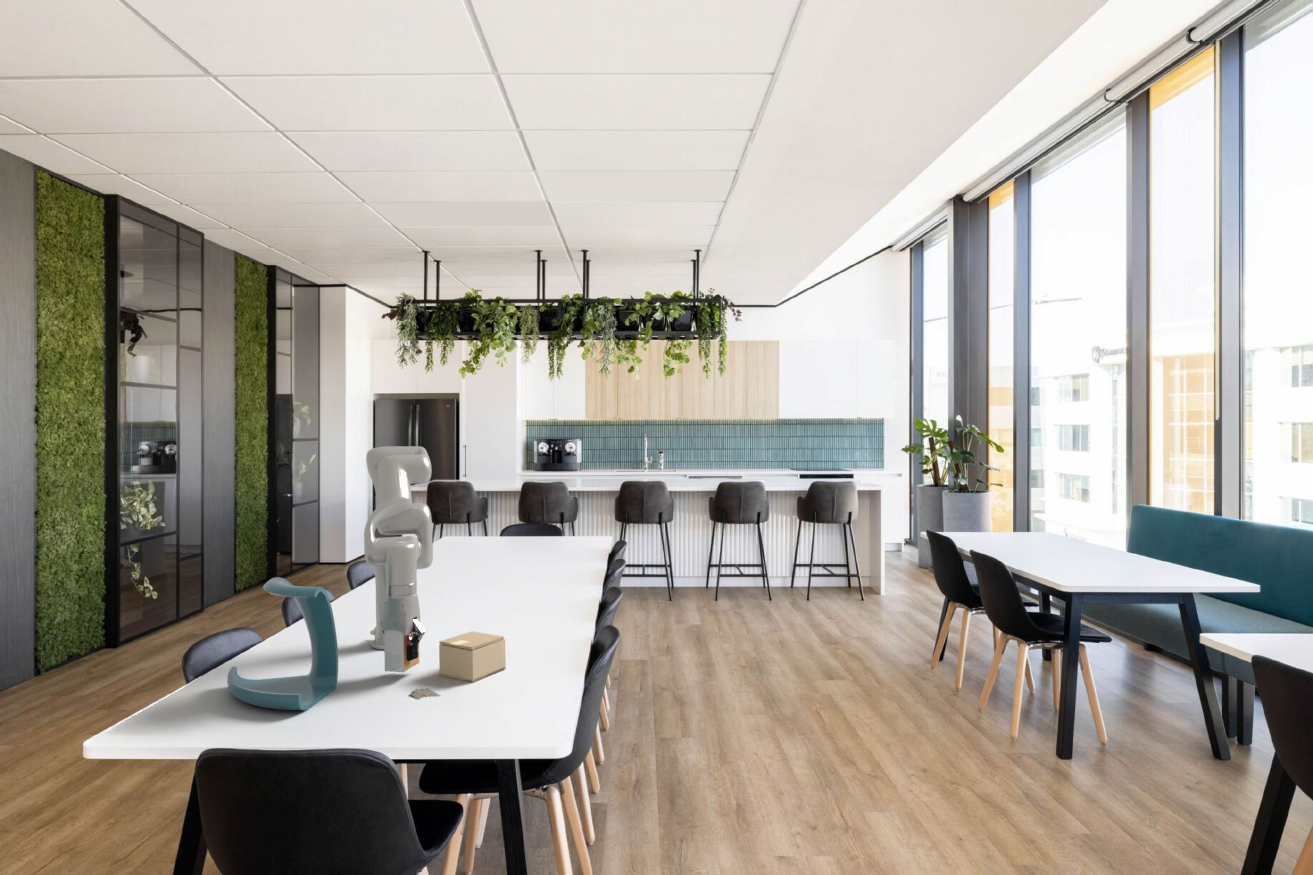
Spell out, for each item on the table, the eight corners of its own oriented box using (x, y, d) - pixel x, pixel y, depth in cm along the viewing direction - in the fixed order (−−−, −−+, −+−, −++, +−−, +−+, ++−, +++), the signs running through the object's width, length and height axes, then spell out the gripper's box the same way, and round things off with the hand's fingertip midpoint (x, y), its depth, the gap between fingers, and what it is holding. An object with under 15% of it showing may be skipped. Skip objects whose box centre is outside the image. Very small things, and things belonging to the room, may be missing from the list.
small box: (403, 673, 184) (403, 632, 184) (383, 671, 185) (383, 631, 185) (420, 662, 192) (419, 623, 192) (401, 661, 193) (400, 622, 193)
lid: (438, 644, 189) (438, 641, 189) (472, 633, 199) (472, 630, 199) (470, 650, 183) (470, 647, 183) (503, 639, 193) (503, 636, 193)
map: (425, 689, 179) (425, 685, 179) (470, 710, 165) (470, 706, 165) (406, 695, 175) (406, 691, 175) (451, 717, 161) (451, 713, 161)
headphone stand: (298, 716, 162) (305, 592, 163) (174, 712, 162) (183, 588, 164) (349, 684, 188) (355, 577, 190) (243, 680, 188) (250, 574, 190)
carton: (439, 675, 189) (439, 644, 189) (472, 662, 199) (472, 633, 199) (473, 682, 183) (472, 651, 183) (505, 669, 193) (505, 639, 193)
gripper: (367, 588, 189) (368, 655, 190) (413, 596, 180) (413, 667, 181) (390, 582, 195) (391, 647, 196) (436, 590, 187) (436, 658, 187)
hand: (402, 656), depth 188 cm, fingers closed on small box, 7 cm apart
